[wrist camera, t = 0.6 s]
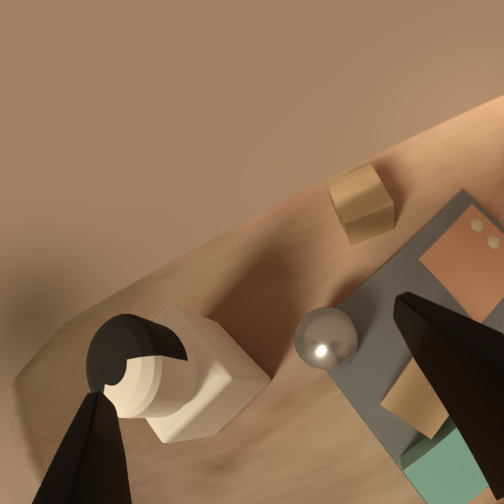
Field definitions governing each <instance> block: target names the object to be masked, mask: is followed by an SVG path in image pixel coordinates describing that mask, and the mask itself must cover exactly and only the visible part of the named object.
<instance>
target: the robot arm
mask: <svg viewBox="0 0 504 504" xmlns="http://www.w3.org/2000/svg"><path fill="white" fill-rule="evenodd" d="M393 319H394V322H395V324H396V325H397V327H398V329H399V331H400V333H401V335H402V337H403V339H404V341H405V343H406V345H407V346H408V348H409V350H410V352H411V354H412V356H413V358H414V360H415V362H416V363H417V365H418V366H419V368H420V369H421V371H422V372H423V374H424V376H425V377H426V379H427V380H428V382H429V383H430V385H431V386H432V388H433V390H434V391H435V393H436V394H437V396H438V398H439V399H440V401H441V402H442V404H443V406H444V407H445V409H446V411H447V412H448V414H449V416H450V417H451V419H452V421H453V422H454V424H455V426H456V427H457V429H458V431H459V432H460V434H461V436H462V437H463V439H464V441H465V443H466V444H467V446H468V448H469V450H470V451H471V453H472V455H473V456H474V459H475V461H476V463H477V464H478V466H479V468H480V470H481V472H482V474H483V475H484V477H485V479H486V481H487V483H488V485H489V487H490V489H491V491H492V493H493V495H494V497H495V498H496V500H499V499H501V498H503V497H504V334H503V333H502V332H499V331H497V330H495V329H493V328H491V327H488V326H486V325H484V324H482V323H480V322H477V321H475V320H473V319H471V318H468V317H466V316H464V315H462V314H460V313H457V312H455V311H453V310H450V309H448V308H446V307H444V306H441V305H439V304H437V303H435V302H432V301H430V300H428V299H425V298H423V297H421V296H419V295H416V294H414V293H412V292H408V291H406V292H403V293H401V294H399V295H397V296H396V298H395V303H394V311H393ZM32 504H132V501H131V494H130V487H129V480H128V473H127V465H126V457H125V451H124V446H123V441H122V436H121V431H120V426H119V421H118V416H117V410H116V408H115V406H114V404H113V403H112V402H111V401H110V400H109V399H108V398H107V397H106V396H105V395H104V393H103V392H101V391H93V392H89V393H88V394H87V395H86V397H85V398H84V400H83V402H82V404H81V406H80V408H79V410H78V411H77V413H76V415H75V417H74V419H73V421H72V423H71V425H70V426H69V428H68V430H67V432H66V434H65V436H64V438H63V440H62V442H61V444H60V446H59V448H58V450H57V452H56V454H55V456H54V458H53V460H52V462H51V464H50V466H49V468H48V470H47V472H46V475H45V477H44V479H43V481H42V483H41V486H40V487H39V489H38V491H37V494H36V496H35V498H34V500H33V502H32Z"/></svg>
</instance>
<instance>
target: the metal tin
mask: <svg viewBox="0 0 504 504" xmlns="http://www.w3.org/2000/svg"><path fill="white" fill-rule="evenodd" d="M294 342H295V347H296V350H297V353H298V354H299V356H300V357H301V359H302V360H303V361H304V362H306V363H307V364H309V365H311V366H313V367H316V368H320V369H323V370H338V369H341V368H343V367H345V366H347V365H348V364H349V363H350V362H351V361H352V360H353V359H354V357H355V356H356V354H357V351H358V348H359V336H358V333H357V331H356V329H355V327H354V325H353V323H352V321H351V319H350V318H349V317H348V316H347V315H346V314H345V313H344V312H342V311H341V310H338V309H336V308H332V307H322V308H317V309H315V310H313V311H311V312H309V313H308V314H306V315H305V316H304V317H303V318H302V320H301V321H300V322H299V324H298V326H297V328H296V331H295V337H294Z"/></svg>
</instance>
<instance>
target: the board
mask: <svg viewBox="0 0 504 504" xmlns="http://www.w3.org/2000/svg"><path fill="white" fill-rule="evenodd" d="M406 291H408V292H412V293H414V294H416V295H419V296H421V297H423V298H425V299H428V300H430V301H432V302H435V303H437V304H439V305H441V306H444V307H446V308H448V309H450V310H453V311H455V312H457V313H460V314H462V315H464V316H466V317H468V318H471V319H473V320H475V321H477V322H480V323H482V324H484V325H486V326H488V327H491V328H493V329H495V330H497V331H499V332H502V333H503V334H504V227H503V226H502V225H501V224H500V223H499V222H498V221H497V220H496V219H495V218H494V217H493V216H491V215H490V214H489V213H488V212H487V211H486V210H485V209H484V208H483V207H482V206H481V205H480V204H479V203H477V202H476V201H475V200H474V199H473V198H472V197H471V196H470V195H469V194H467V193H466V192H465V191H464V190H463V189H462V190H461V191H460V192H459V193H458V194H457V195H456V196H455V197H454V198H453V199H452V200H451V201H450V202H449V203H448V204H447V205H446V206H445V207H444V208H443V209H442V210H441V211H440V212H439V213H438V214H437V215H436V216H435V217H434V218H433V219H432V220H431V221H430V222H429V223H428V224H427V225H426V226H425V227H424V228H423V229H422V230H421V231H420V232H419V233H418V234H417V235H416V236H415V237H414V238H413V239H412V240H411V241H410V242H409V243H408V244H406V245H405V246H404V247H403V248H402V249H401V250H400V251H399V252H398V253H397V254H396V255H395V256H394V257H392V258H391V259H390V260H389V261H388V262H387V263H386V264H385V265H384V266H383V267H381V268H380V269H379V270H378V271H377V272H376V273H375V274H374V275H372V276H371V277H370V278H369V279H368V280H367V281H366V282H364V283H363V284H362V285H361V286H360V287H359V288H357V289H356V290H355V291H354V292H353V293H352V294H350V295H349V296H348V297H347V298H346V299H344V300H343V301H342V302H341V303H340V304H338V305H337V306H336V307H335V308H336V309H338V310H341V311H342V312H344V313H345V314H346V315H347V316H348V317H349V318H350V319H351V321H352V323H353V325H354V327H355V329H356V331H357V333H358V336H359V348H358V351H357V354H356V356H355V357H354V359H353V360H352V361H351V362H350V363H349V364H348V365H347V366H345V367H343V368H341V369H338V370H326V371H327V372H328V374H329V375H330V376H331V378H332V379H333V380H334V382H335V383H336V384H337V386H338V387H339V388H340V390H341V391H342V392H343V394H344V395H345V396H346V398H347V399H348V401H349V402H350V403H351V405H352V406H353V407H354V409H355V410H356V411H357V413H358V414H359V415H360V417H361V418H362V419H363V421H364V422H365V423H366V425H367V426H368V427H369V429H370V430H371V431H372V433H373V434H374V435H375V437H376V438H377V439H378V441H379V442H380V443H381V444H382V446H383V447H384V448H385V450H386V451H387V452H388V454H389V455H390V456H391V458H392V459H393V460H394V462H395V463H396V464H397V466H398V467H399V468H400V470H401V471H402V472H403V470H402V465H401V460H400V456H401V455H403V454H404V453H405V452H407V451H408V450H409V449H411V448H412V447H413V446H415V445H416V444H417V443H419V442H420V441H421V440H422V439H424V438H425V437H426V435H424V434H423V433H421V432H420V431H418V430H417V429H415V428H414V427H412V426H411V425H409V424H408V423H406V422H405V421H403V420H402V419H400V418H399V417H397V416H396V415H394V414H393V413H392V412H390V411H389V410H387V409H386V408H384V407H383V406H381V405H380V401H381V399H382V398H383V397H384V395H385V394H386V393H387V391H388V390H389V389H390V387H391V386H392V384H393V383H394V382H395V380H396V379H397V377H398V376H399V375H400V373H401V372H402V370H403V369H404V367H405V366H406V364H407V363H408V361H409V360H410V358H411V357H412V354H411V352H410V350H409V348H408V346H407V345H406V343H405V341H404V339H403V337H402V335H401V333H400V331H399V329H398V327H397V325H396V324H395V322H394V319H393V311H394V303H395V298H396V296H397V295H399V294H401V293H403V292H406ZM449 417H450V416H448V417H447V418H449ZM403 474H404V475H405V476H406V474H405V473H404V472H403ZM406 477H407V476H406ZM407 479H408V480H409V478H408V477H407ZM409 481H410V480H409ZM410 483H411V484H412V482H411V481H410ZM412 485H413V484H412ZM413 487H414V488H415V489H416V487H415V486H414V485H413ZM416 491H417V492H418V493H419V491H418V490H417V489H416ZM419 494H420V493H419ZM420 496H421V497H422V495H421V494H420ZM422 498H423V497H422ZM423 500H424V501H425V499H424V498H423ZM425 502H426V501H425ZM426 504H428V503H427V502H426Z"/></svg>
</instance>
